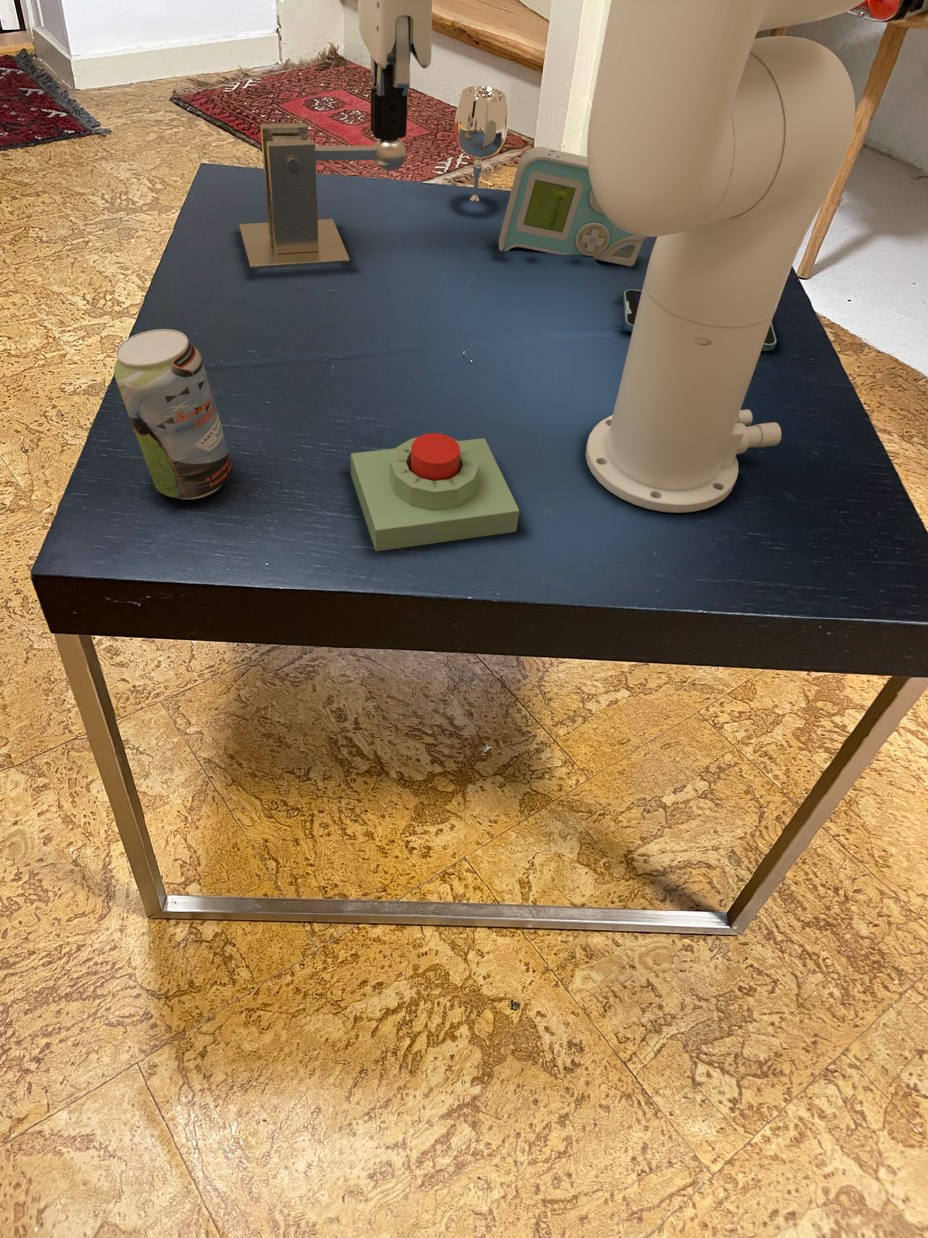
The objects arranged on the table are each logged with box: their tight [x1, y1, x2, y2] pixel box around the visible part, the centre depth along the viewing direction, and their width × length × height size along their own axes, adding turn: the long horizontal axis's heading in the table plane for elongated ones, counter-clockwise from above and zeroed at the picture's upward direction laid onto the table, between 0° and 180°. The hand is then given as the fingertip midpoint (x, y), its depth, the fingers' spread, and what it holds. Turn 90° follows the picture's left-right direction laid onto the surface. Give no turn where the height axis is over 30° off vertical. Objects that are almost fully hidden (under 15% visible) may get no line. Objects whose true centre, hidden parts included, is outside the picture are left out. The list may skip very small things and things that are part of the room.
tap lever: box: [272, 136, 407, 171], centre depth 93 cm, size 13×3×3 cm, turn 106°
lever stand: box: [238, 122, 351, 270], centre depth 94 cm, size 10×9×12 cm
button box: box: [350, 436, 520, 552], centre depth 72 cm, size 11×9×4 cm
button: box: [411, 432, 460, 481], centre depth 71 cm, size 4×4×2 cm
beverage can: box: [113, 328, 234, 500], centre depth 69 cm, size 6×7×12 cm
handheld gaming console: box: [498, 146, 647, 267], centre depth 99 cm, size 11×3×15 cm
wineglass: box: [453, 85, 509, 202], centre depth 105 cm, size 6×6×12 cm
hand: (388, 134), depth 93 cm, fingers closed
